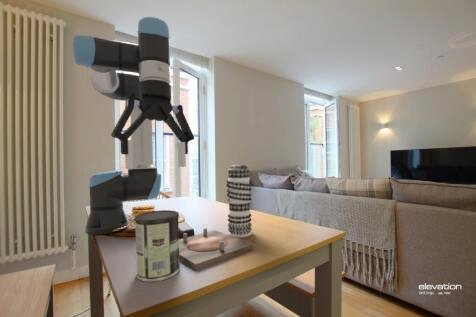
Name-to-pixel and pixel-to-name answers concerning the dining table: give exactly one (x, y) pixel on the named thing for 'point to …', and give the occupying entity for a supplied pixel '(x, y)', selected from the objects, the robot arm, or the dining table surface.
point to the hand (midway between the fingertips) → (157, 167)
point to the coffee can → (157, 245)
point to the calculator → (185, 230)
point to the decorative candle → (239, 201)
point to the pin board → (210, 248)
